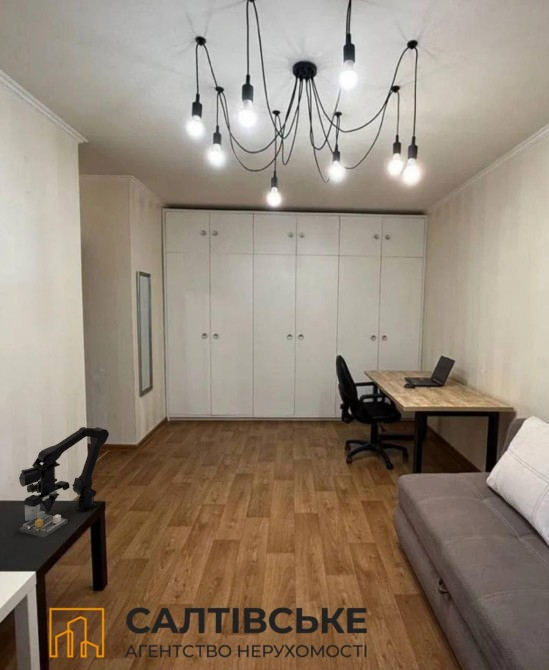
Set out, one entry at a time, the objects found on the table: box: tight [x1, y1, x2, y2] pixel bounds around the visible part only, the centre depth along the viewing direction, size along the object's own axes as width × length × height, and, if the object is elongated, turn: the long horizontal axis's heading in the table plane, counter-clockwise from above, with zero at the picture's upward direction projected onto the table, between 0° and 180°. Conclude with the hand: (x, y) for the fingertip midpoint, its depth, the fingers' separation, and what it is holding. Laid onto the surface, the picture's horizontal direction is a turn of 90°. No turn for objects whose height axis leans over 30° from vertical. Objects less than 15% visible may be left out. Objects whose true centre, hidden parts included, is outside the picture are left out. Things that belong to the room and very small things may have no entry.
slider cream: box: [53, 514, 62, 524], centre depth 164 cm, size 3×2×3 cm
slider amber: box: [35, 519, 44, 528], centre depth 161 cm, size 3×2×3 cm
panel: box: [19, 513, 68, 538], centre depth 164 cm, size 12×14×2 cm
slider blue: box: [37, 510, 46, 519], centre depth 167 cm, size 3×2×3 cm
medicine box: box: [24, 493, 41, 522], centre depth 172 cm, size 8×4×9 cm, turn 21°
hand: (48, 511), depth 165 cm, fingers closed
